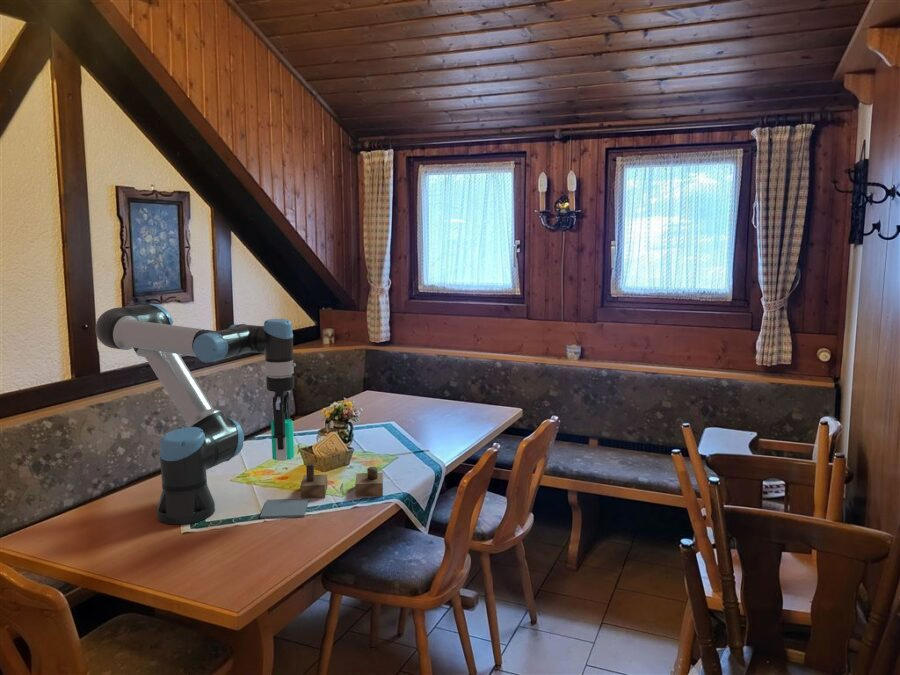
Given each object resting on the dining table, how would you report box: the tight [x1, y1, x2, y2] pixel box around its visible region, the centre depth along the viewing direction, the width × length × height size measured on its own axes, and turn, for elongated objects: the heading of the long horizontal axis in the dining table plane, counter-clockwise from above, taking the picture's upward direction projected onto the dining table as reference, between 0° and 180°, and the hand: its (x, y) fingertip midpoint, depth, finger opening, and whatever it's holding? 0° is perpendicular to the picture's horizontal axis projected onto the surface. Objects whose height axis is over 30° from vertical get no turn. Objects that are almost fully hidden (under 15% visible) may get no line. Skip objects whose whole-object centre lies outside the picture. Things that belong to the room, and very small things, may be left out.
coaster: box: [259, 498, 310, 519], centre depth 204 cm, size 12×12×1 cm
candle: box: [270, 418, 295, 462], centre depth 201 cm, size 6×6×12 cm
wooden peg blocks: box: [300, 462, 384, 499], centre depth 217 cm, size 24×9×9 cm, turn 95°
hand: (283, 456), depth 202 cm, fingers closed on candle, 6 cm apart
